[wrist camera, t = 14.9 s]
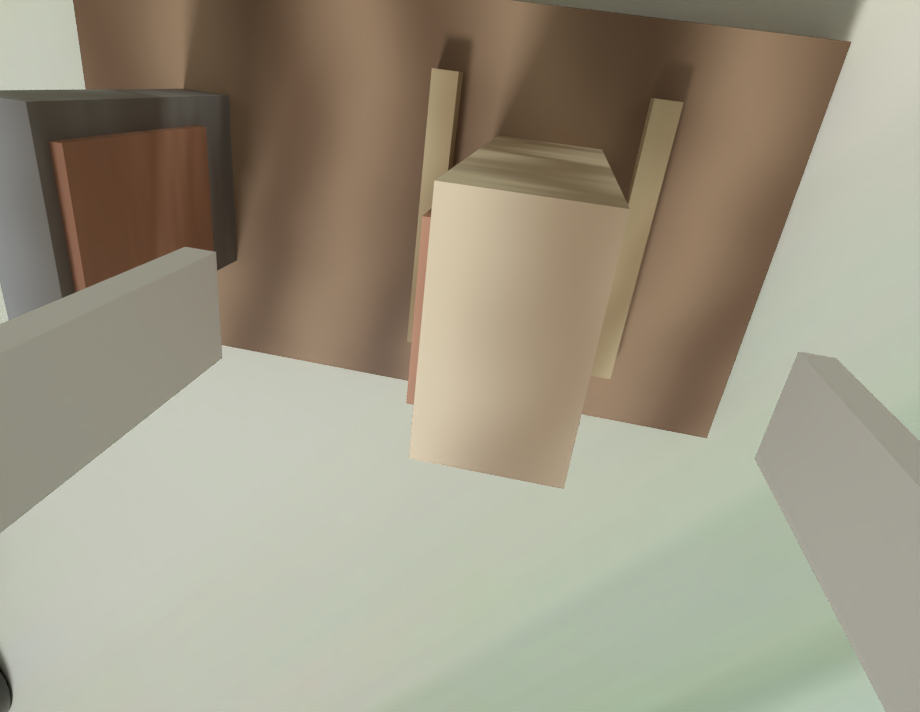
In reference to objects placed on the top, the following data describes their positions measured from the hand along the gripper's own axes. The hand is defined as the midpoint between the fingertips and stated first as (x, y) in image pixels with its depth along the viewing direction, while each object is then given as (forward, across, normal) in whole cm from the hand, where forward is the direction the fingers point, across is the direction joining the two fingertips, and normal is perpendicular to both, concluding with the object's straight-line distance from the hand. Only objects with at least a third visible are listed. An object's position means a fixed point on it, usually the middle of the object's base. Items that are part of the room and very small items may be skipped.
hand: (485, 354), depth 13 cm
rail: (+14, +5, 0) cm, 14 cm away
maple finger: (+12, -1, 0) cm, 12 cm away
